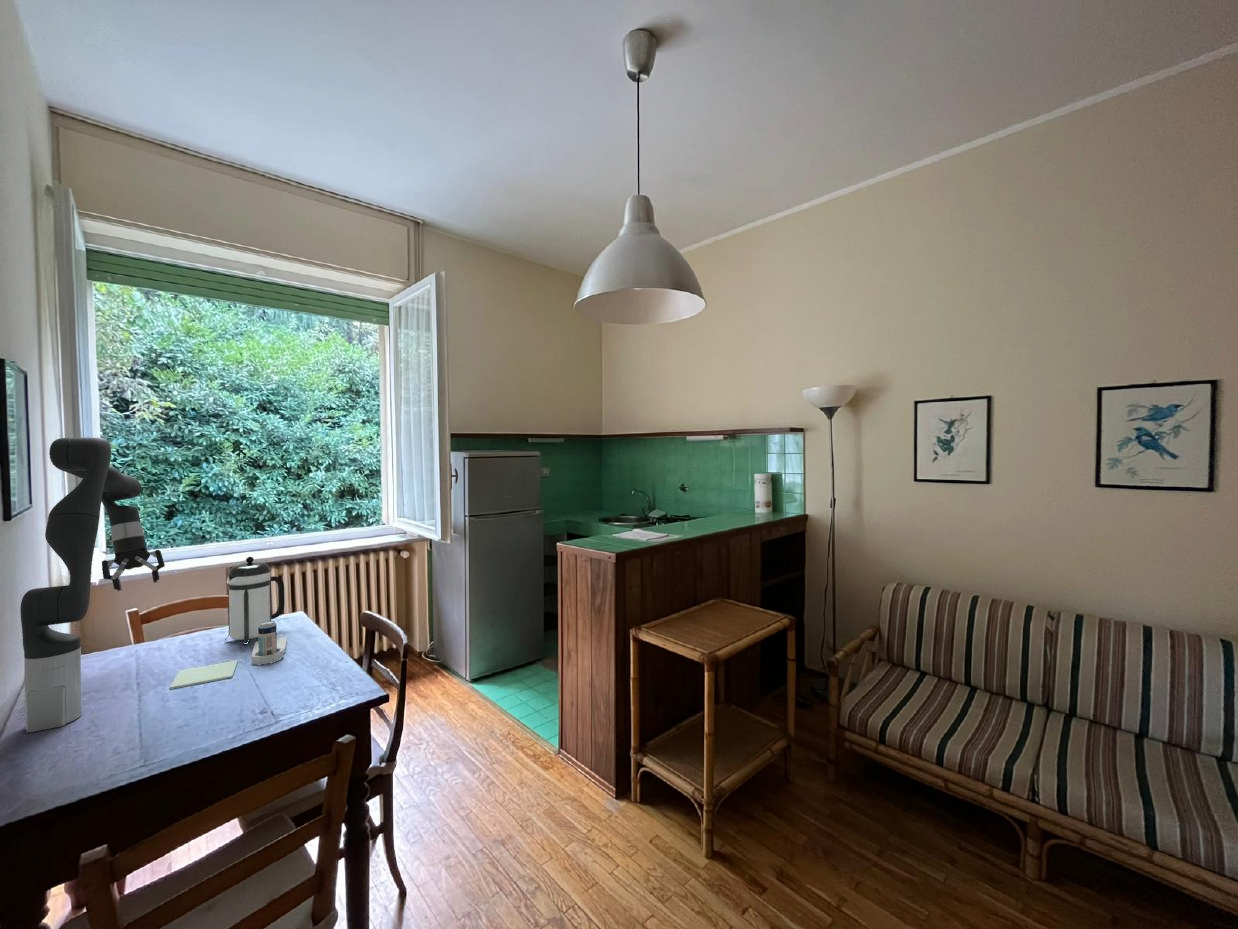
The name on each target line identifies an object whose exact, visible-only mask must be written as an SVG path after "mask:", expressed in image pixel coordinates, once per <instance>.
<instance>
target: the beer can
mask: <svg viewBox="0 0 1238 929" xmlns="http://www.w3.org/2000/svg"><path fill="white" fill-rule="evenodd" d="M277 635H278V634H277V623H276V621H274V620H271V621H267V622H263V623H261V624H260V625H259V627H258V637H257V638H258V639H257V640H258V641H257V642H258V649H259V656H266V655H271V654H274V653H277V638H278V637H277Z"/></svg>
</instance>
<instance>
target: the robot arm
mask: <svg viewBox="0 0 1238 929" xmlns="http://www.w3.org/2000/svg"><path fill="white" fill-rule="evenodd" d="M48 453H49V454H48V455H49V459H50V461H51V463H52V465H53V467H54V468H56V469H58V470H60V471H63V472H66V473H67V474H70V475H73V476H75V477H78V478H80V479H81V481H80V482H79V483H78V484H77V486H75V487H74V489H72V490H71V491H69V493H68V494H66V495H65V496H64V497H63V498H62V499H60V500H59V501H58V502H57V503H56V504H55V505H54V506H53V507H52V508H51V510H50V512H49V514H48V518H47V522H46V527H45V528H46V529H45V534H44V536H45V541H46V542H47V544H48V545H49V547H50V548H51V549H52V551H53V552H55V554H56V555H57V556H58V557H59V558H60V559H61V561H63V563H64V565H65V566H66V568H67V570H68V574H69V583H68V584H66V585H58V586H48V587H38V588H33V589H30V590H28V591H26V592H25V593H24V594H23V596H22V598H21V602H20V612H19V613H20V622H21V633H22V647H23V656H24V657H23V658H24V660H23V662H24V666H23V667H24V670H23V672H24V677H23V678H24V682H23V683H24V684H23V685H24V688H23V689H24V730H25V729H26V730H25V731H26V733H27V732H30V733H35V732H39V731H44V730H50V729H54V728H60V727H64V726H66V724H68V723H71V722H73V721H75V720H77V719H78V718H80V717H81V716H82V641H81V637H80V636H79V635H77V634H74V633H67V632H66V633H65V632H61V631H57V630H54V629H52V628H50V626H52V625H60V624H69V623H75V622H79V621H82V620H83V619H85V616H86V615H87V613H88V610H89V606H90V599H91V585H92V584H91V583H92V565H93V558H94V550H95V546H96V542H97V535H98V531H99V524H100V516H101V508H102V507H101V505H103V506H104V508H105V510H106V512H107V515H108V521H109V525H110V536H111V542H112V547H113V552H114V559H108V560H106V559H105V560H102V561H101V569H102V578H103V579H104V580H111V581H112V584H113V585H112V586H113V589H114V590H115V591H117V592H120V591H121V592H122V584H121V579H120V577H121V575H122V574H123V573H124V572H125V570H129V571H130V570H133V569H135V568H136V569H137V568H142V567H143V566H145V567H147V568H148V569H150V570H151V575H152V576H151V577H152V582H153V583H154V584H155V583H158V581H159V580H160V574H159V570H160V569H162V568H165V566H166V565H165V562H164V561H165V560H164V558H163V554H162V551H161V550H159V549H155V550H154V551H150V552H149V551H148V548H147V547H148V546H147V542H146V538H145V531H144V527H143V526H142V523H141V519H140V518H141V517H140V512H139V508H138V507H137V506H135V505H121V504H120V505H118V504H117V503H116V502H117V501H123V500H128V499H134V498H137V497H138V496H140V495H141V493H142V490H143V489H142V488H143V487H142V485H141V482H140V481H139V479H136V477H134V476H132V475H129V474H125V473H123V472H120V470H118V469H117V468H116V467H114V466H112V465H111V460H112V447H111V443H110V441H109V440H107V439H106V438H103V437H61V438H56V439H55V440H54V441H52V443H51V444H50V447H49V452H48ZM151 556H153V558H156V560H157V564H158V565H154V564H152V563H150V562H149V561H148V559H149V558H150V557H151ZM113 564H116V565H118V567H117V569H116V570H115V571H114V573H113V575H111V570H110V567H112V566H113Z"/></svg>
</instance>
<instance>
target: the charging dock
mask: <svg viewBox="0 0 1238 929" xmlns="http://www.w3.org/2000/svg"><path fill="white" fill-rule="evenodd" d="M286 639H287V636H284V637H277V653H274V654H271V655H266V656H259V649H258V641H255V643H254V645H253V649H252V651H251V652H252V653H251V665H254V664H264V665H268V664H267V663H269V664H272V663H271V662H274V661H276V662H278V661H277V660H279V659H280V658H282V657H283V658H284V654H283V652H284V651H285V652H286V649H285V647H286V648H287V642H286ZM279 661H280V660H279ZM274 663H275V662H274Z"/></svg>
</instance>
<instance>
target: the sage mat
mask: <svg viewBox="0 0 1238 929" xmlns="http://www.w3.org/2000/svg"><path fill="white" fill-rule="evenodd" d="M237 662H238V663H239V660H232V661H227V662H221V663H215V664H209V665H203V666H197V667H192V668H186V669H181V670H179V672H178V673H177V675H176V676H175V678H174V679H173V681H172V683H171V684H170V686H169V688H168V689H169V690H173V689H179V688H180V689H181V688H184V687H189V686H194V685H195V686H197V685H200V684H206V683H211V682H216V681H222V680H228V679H233V676H234V673H235V671H236V669H237V666H238V663H237ZM236 665H237V666H236ZM235 668H236V669H235ZM227 678H228V679H227Z"/></svg>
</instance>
